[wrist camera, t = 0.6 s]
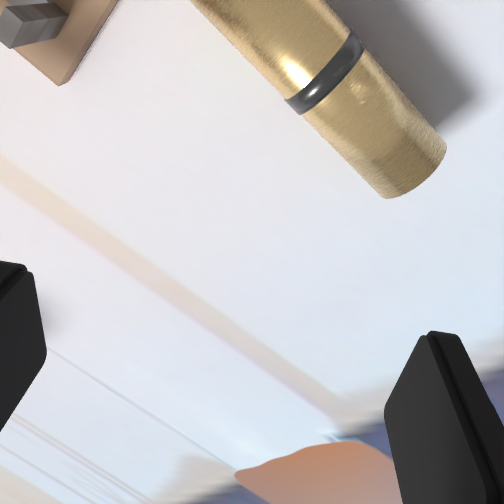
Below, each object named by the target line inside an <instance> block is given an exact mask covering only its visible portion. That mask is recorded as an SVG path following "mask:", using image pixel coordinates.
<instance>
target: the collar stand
mask: <svg viewBox="0 0 504 504" xmlns="http://www.w3.org/2000/svg"><path fill="white" fill-rule="evenodd" d="M117 2H118V0H0V41H1V42H2V43H3V44H4V45H5V46H7V47H8V48H9V49H11V48H13V49H14V50H15V51H17V52H18V53H19V54H20V55H21V56H23V57H24V58H25V59H26V60H27V61H29V62H30V63H31V64H32V65H33V66H35V67H36V68H37V69H38V70H39V71H41V72H42V73H43V74H44V75H45V76H47V77H48V78H49V79H50V80H51V81H53V82H54V83H55V84H56V85H57V86H60V85H63V84H65V83H67V82H68V80H69V79H70V77H71V76H72V74H73V72H74V71H75V69H76V68H77V66H78V64H79V63H80V61H81V60H82V58H83V56H84V55H85V53H86V51H87V50H88V48H89V47H90V45H91V43H92V42H93V40H94V39H95V37H96V35H97V34H98V32H99V31H100V29H101V27H102V26H103V24H104V23H105V21H106V19H107V18H108V16H109V14H110V13H111V11H112V10H113V8H114V6H115V5H116V3H117Z"/></svg>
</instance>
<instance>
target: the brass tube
mask: <svg viewBox="0 0 504 504" xmlns="http://www.w3.org/2000/svg"><path fill="white" fill-rule="evenodd" d="M189 1H190V2H191V3H192V4H193V5H194V6H195V7H196V8H197V9H198V10H199V11H200V12H201V13H202V14H203V15H204V16H205V17H206V18H207V19H208V20H209V21H210V22H211V23H212V24H213V25H214V26H215V27H216V28H217V29H218V30H219V32H220V33H221V34H222V35H223V36H224V37H225V38H226V39H227V40H228V41H229V42H230V43H231V44H232V45H233V46H234V47H235V48H236V49H237V50H238V51H239V52H240V53H241V54H242V55H243V56H244V57H245V58H246V59H247V60H248V61H249V62H250V63H251V64H252V65H253V66H254V67H255V68H256V69H257V70H258V71H259V72H260V73H261V74H262V75H263V76H264V78H265V79H266V80H267V81H268V82H269V83H270V84H271V85H272V86H273V87H274V88H275V89H276V90H277V91H278V92H279V93H280V94H281V95H282V96H283V97H284V98H285V101H286V102H287V103H288V104H289V105H290V106H291V107H292V108H293V109H294V110H295V111H296V112H297V113H298V114H299V115H302V116H303V117H304V118H305V119H306V120H307V121H308V123H309V124H310V125H311V126H312V127H313V128H314V129H315V130H316V131H317V132H318V133H319V134H320V135H321V136H322V137H323V138H324V139H325V140H326V141H327V142H328V143H329V144H330V145H331V146H332V147H333V148H334V149H335V150H336V151H337V152H338V153H339V154H340V155H341V156H342V157H343V158H344V159H345V160H346V161H347V162H348V163H349V164H350V165H351V166H352V167H353V169H354V170H355V171H356V172H357V173H358V174H359V175H360V176H361V177H362V178H363V179H364V180H365V181H366V182H367V183H368V184H369V185H370V186H371V187H372V188H373V189H374V190H375V191H376V192H377V193H378V194H379V195H380V196H381V197H383V198H386V199H390V198H395V197H399V196H401V195H403V194H406V193H407V192H409V191H411V190H413V189H414V188H416V187H417V186H418V185H420V184H421V183H422V182H424V181H425V180H426V179H427V178H428V177H429V176H430V175H431V174H432V173H433V172H434V171H435V170H436V168H437V167H438V166H439V164H440V163H441V161H442V160H443V158H444V156H445V153H446V149H447V146H446V143H445V142H444V140H443V139H442V138H441V137H440V136H439V134H438V133H437V132H436V131H435V130H434V129H433V127H432V126H431V125H430V124H429V123H428V121H427V120H426V119H425V118H424V117H423V116H422V114H421V113H420V112H419V111H418V110H417V109H416V107H415V106H414V105H413V104H412V103H411V101H410V100H409V99H408V98H407V97H406V96H405V94H404V93H403V92H402V91H401V90H400V89H399V87H398V86H397V85H396V84H395V83H394V81H393V80H392V79H391V78H390V77H389V76H388V74H387V73H386V72H385V71H384V70H383V69H382V67H381V66H380V65H379V64H378V63H377V61H376V60H375V59H374V58H373V57H372V56H371V54H370V53H369V52H368V51H367V50H366V49H365V45H364V44H363V42H362V41H361V40H360V39H359V38H358V37H357V35H356V34H355V33H354V32H353V31H352V29H348V27H347V26H346V25H345V24H344V23H343V21H342V20H341V19H340V18H339V17H338V16H337V14H336V13H335V12H334V11H333V10H332V9H331V7H330V6H329V5H328V4H327V3H326V1H325V0H189Z"/></svg>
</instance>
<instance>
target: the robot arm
mask: <svg viewBox="0 0 504 504" xmlns="http://www.w3.org/2000/svg"><path fill="white" fill-rule="evenodd" d="M46 355H47V349H46V343H45V338H44V332H43V326H42V321H41V315H40V309H39V304H38V298H37V293H36V287H35V281H34V276H33V274H32V273H31V272H28V271H27V268H26V267H25V265H23V264H18V263H11V262H5V261H0V432H1V430H2V428H3V427H4V425H5V424H6V422H7V421H8V419H9V418H10V416H11V414H12V413H13V411H14V410H15V408H16V407H17V405H18V404H19V402H20V400H21V399H22V397H23V396H24V394H25V393H26V391H27V390H28V388H29V386H30V385H31V383H32V382H33V380H34V379H35V377H36V376H37V374H38V372H39V371H40V369H41V368H42V366H43V364H44V362H45V359H46ZM384 419H385V424H386V429H387V433H388V438H389V442H390V447H391V452H392V456H393V461H394V465H395V470H396V474H397V479H398V483H399V488H400V492H401V497H402V502H403V504H504V426H503V424H502V422H501V420H500V418H499V416H498V414H497V412H496V410H495V408H494V406H493V404H492V403H491V401H490V399H489V397H488V395H487V393H486V391H485V389H484V387H483V385H482V383H481V381H480V379H479V377H478V375H477V373H476V371H475V368H474V366H473V364H472V362H471V360H470V358H469V356H468V354H467V352H466V350H465V348H464V346H463V344H462V342H461V340H460V338H459V337H458V336H457V335H456V334H451V333H444V332H438V331H430V332H429V333H428V334H427V335H426V336H425V335H422V336H421V337H420V338H419V340H418V342H417V344H416V346H415V348H414V350H413V351H412V353H411V355H410V357H409V359H408V361H407V363H406V365H405V367H404V369H403V371H402V373H401V375H400V377H399V379H398V381H397V383H396V385H395V387H394V389H393V391H392V393H391V395H390V397H389V399H388V401H387V402H386V405H385V409H384Z"/></svg>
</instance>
